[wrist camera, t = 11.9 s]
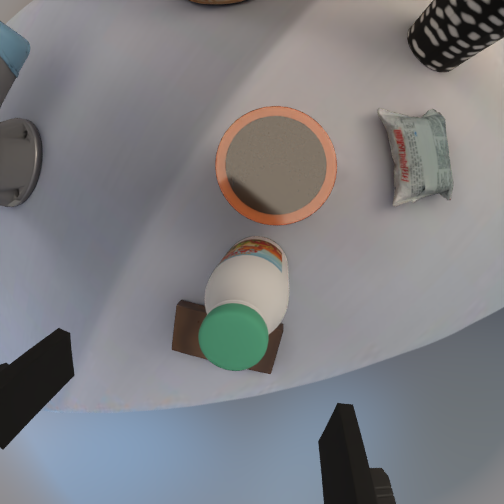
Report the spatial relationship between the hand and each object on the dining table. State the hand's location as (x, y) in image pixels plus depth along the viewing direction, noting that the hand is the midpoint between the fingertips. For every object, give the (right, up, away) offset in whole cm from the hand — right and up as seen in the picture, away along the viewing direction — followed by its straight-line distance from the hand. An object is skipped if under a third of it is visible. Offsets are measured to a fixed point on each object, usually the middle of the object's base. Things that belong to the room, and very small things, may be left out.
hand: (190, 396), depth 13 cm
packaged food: (+23, +19, +21) cm, 36 cm away
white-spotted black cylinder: (+28, +35, +17) cm, 48 cm away
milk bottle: (+3, +5, +26) cm, 27 cm away
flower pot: (+6, +16, +23) cm, 29 cm away
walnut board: (-1, -5, +28) cm, 29 cm away
